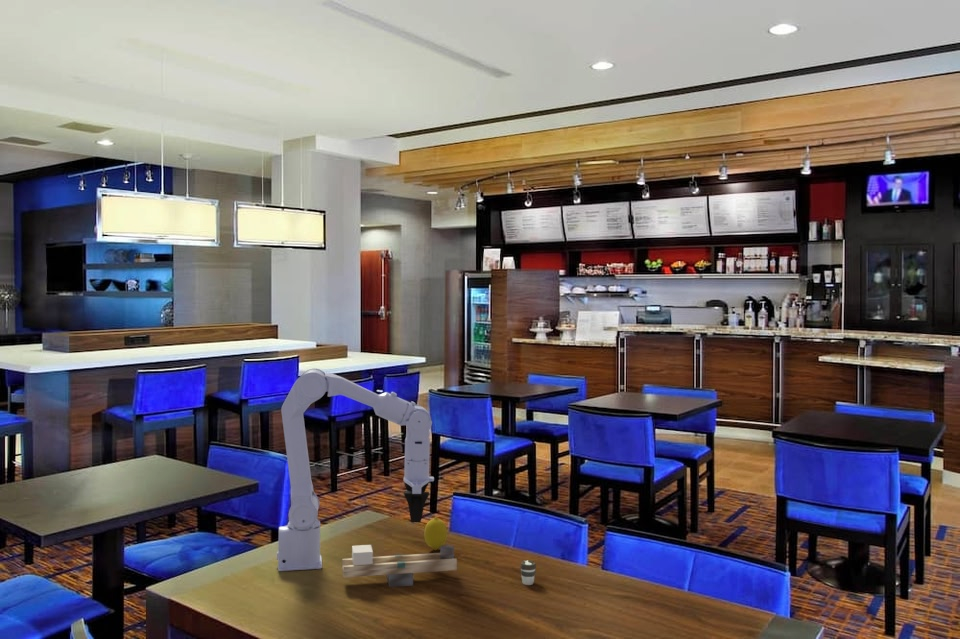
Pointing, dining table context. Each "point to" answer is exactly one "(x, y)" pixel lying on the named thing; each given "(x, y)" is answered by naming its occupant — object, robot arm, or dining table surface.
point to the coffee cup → (528, 572)
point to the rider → (362, 555)
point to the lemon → (435, 533)
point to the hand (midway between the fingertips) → (415, 517)
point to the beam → (403, 566)
